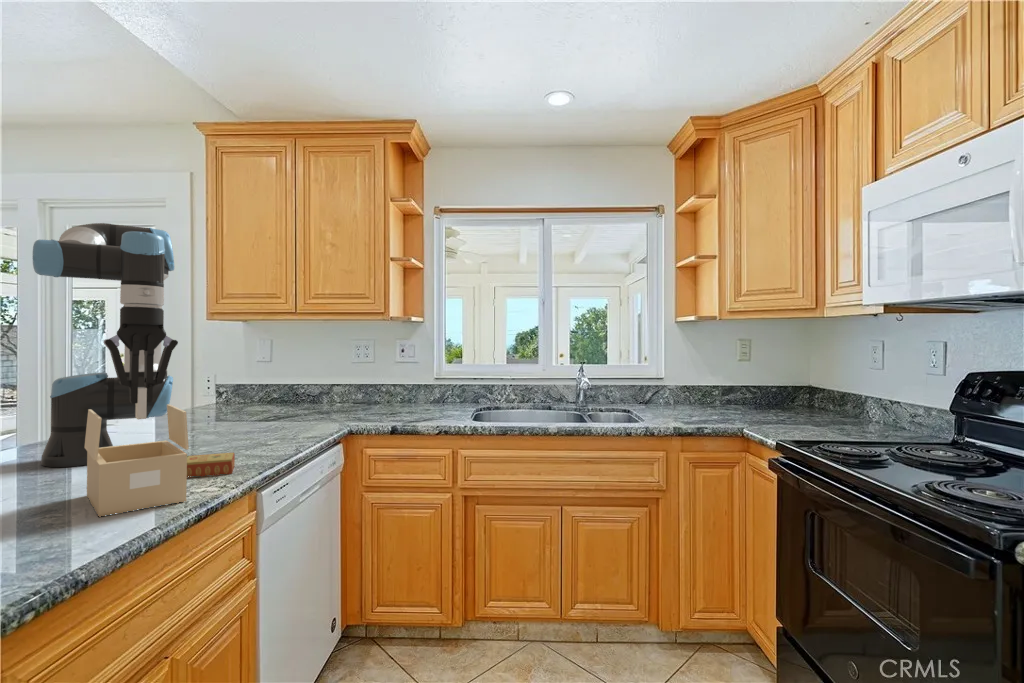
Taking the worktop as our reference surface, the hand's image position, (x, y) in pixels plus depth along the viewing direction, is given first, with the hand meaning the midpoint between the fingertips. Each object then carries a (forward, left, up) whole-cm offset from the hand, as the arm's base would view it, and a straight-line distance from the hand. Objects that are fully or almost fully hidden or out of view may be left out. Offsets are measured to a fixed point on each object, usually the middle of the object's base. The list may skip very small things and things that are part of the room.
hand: (140, 418), depth 111 cm
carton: (-15, +14, -18) cm, 27 cm away
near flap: (0, -8, -2) cm, 8 cm away
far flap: (0, +6, -2) cm, 7 cm away
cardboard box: (0, -1, -17) cm, 17 cm away
